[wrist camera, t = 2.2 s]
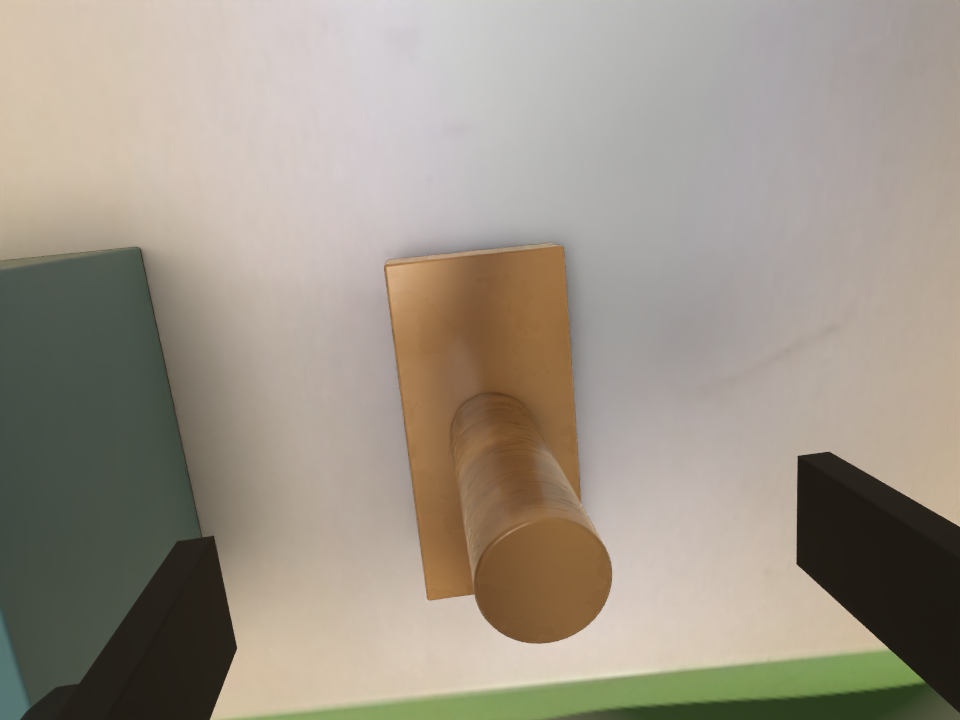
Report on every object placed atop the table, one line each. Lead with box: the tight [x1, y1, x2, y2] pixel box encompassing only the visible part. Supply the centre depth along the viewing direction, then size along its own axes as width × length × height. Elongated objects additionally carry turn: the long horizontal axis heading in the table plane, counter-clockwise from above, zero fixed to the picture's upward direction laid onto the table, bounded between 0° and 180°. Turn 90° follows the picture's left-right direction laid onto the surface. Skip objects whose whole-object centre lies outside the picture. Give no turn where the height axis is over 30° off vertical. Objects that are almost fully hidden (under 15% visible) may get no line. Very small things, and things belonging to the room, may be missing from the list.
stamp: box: [384, 243, 612, 644], centre depth 19 cm, size 6×12×12 cm, turn 6°
